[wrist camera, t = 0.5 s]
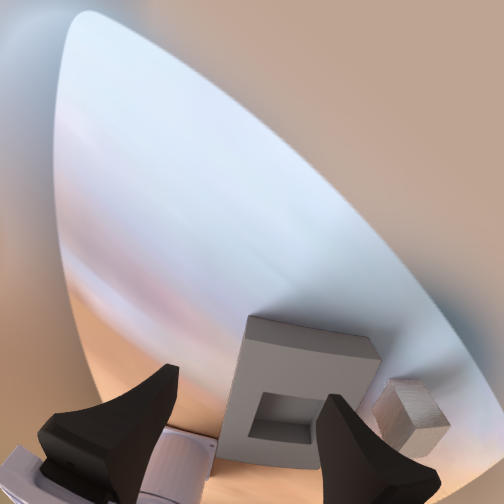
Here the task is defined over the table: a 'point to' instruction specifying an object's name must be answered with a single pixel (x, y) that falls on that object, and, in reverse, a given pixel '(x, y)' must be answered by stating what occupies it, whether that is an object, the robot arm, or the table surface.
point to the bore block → (290, 391)
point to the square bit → (409, 418)
